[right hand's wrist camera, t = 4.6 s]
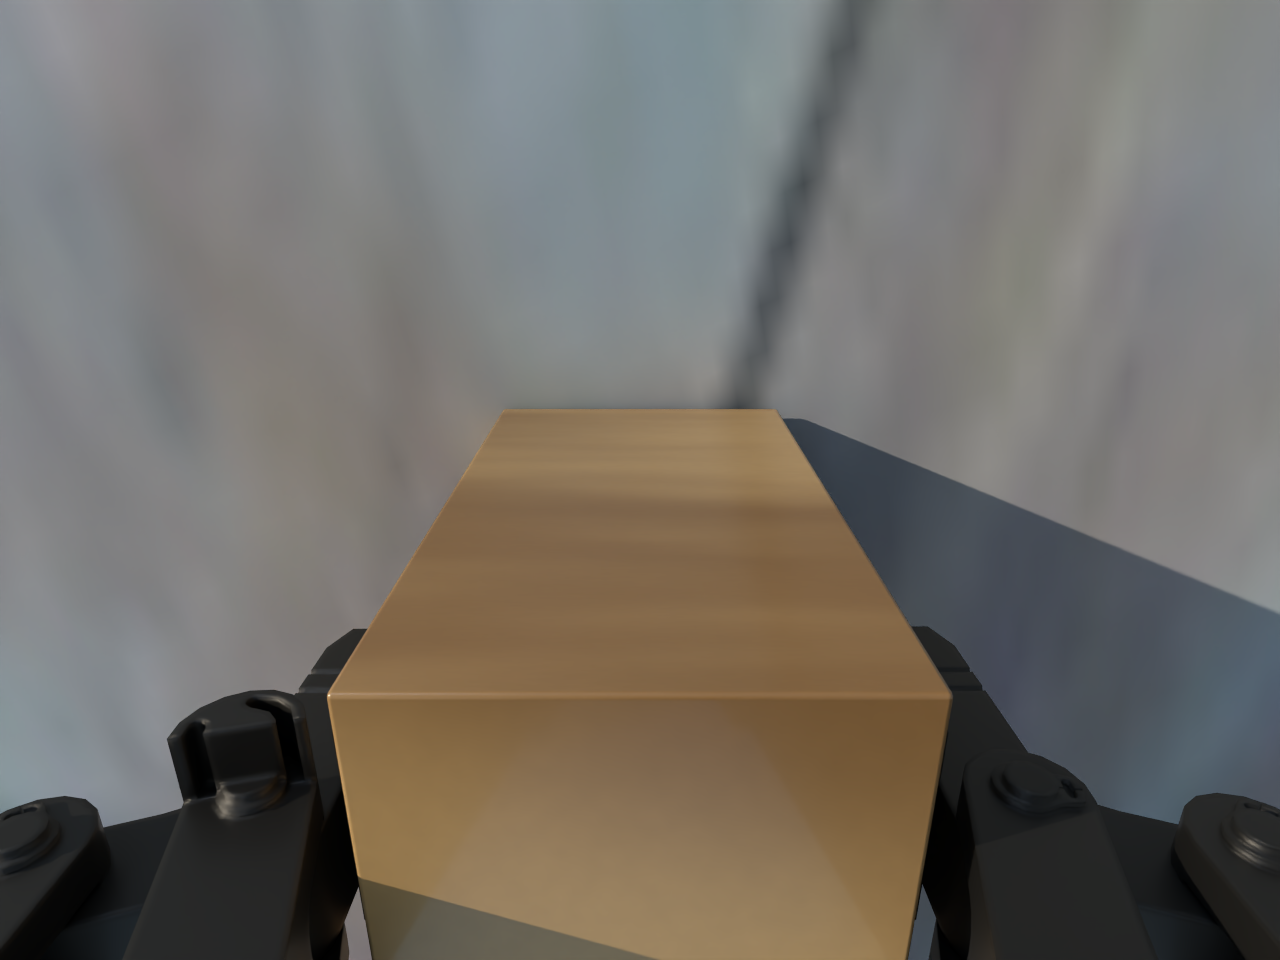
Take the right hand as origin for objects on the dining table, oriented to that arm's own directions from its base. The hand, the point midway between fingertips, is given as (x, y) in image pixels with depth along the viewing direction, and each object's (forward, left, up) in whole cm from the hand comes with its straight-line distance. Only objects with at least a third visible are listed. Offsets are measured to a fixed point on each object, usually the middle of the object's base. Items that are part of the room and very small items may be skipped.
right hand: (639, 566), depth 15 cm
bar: (+2, +8, -1) cm, 9 cm away
